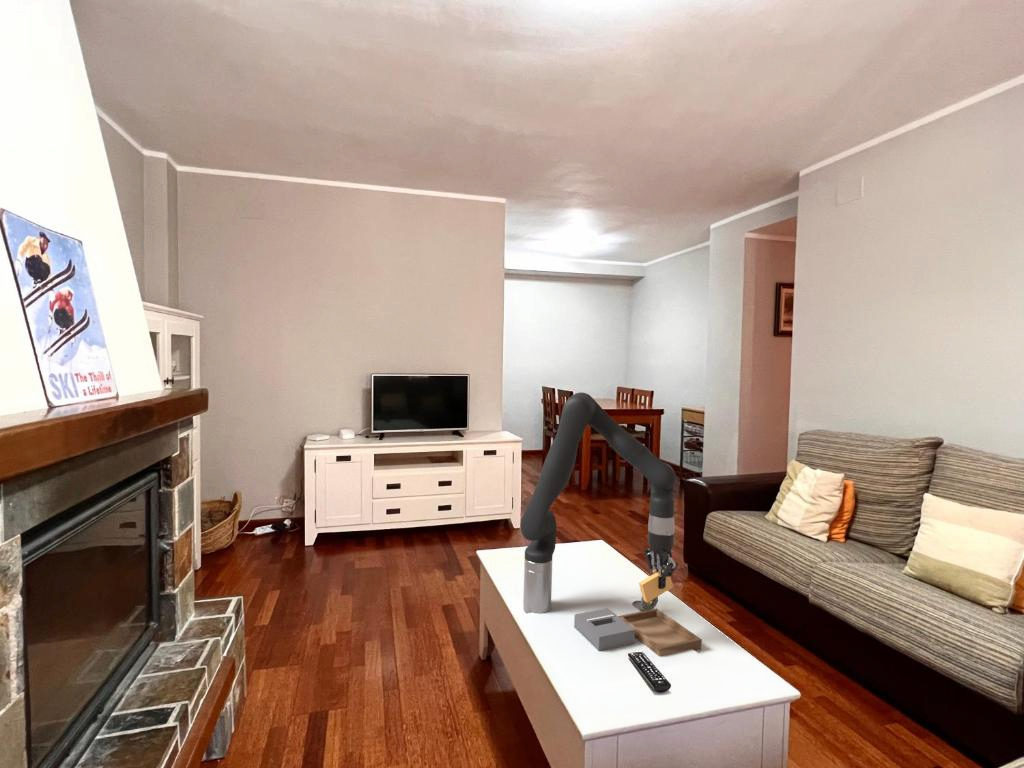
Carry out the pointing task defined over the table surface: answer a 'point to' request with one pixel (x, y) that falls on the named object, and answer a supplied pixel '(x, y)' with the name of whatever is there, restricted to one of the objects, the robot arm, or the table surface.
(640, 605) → the pocket watch
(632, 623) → the tray
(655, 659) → the table surface
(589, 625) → the dispenser
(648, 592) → the yellow rectangular block
